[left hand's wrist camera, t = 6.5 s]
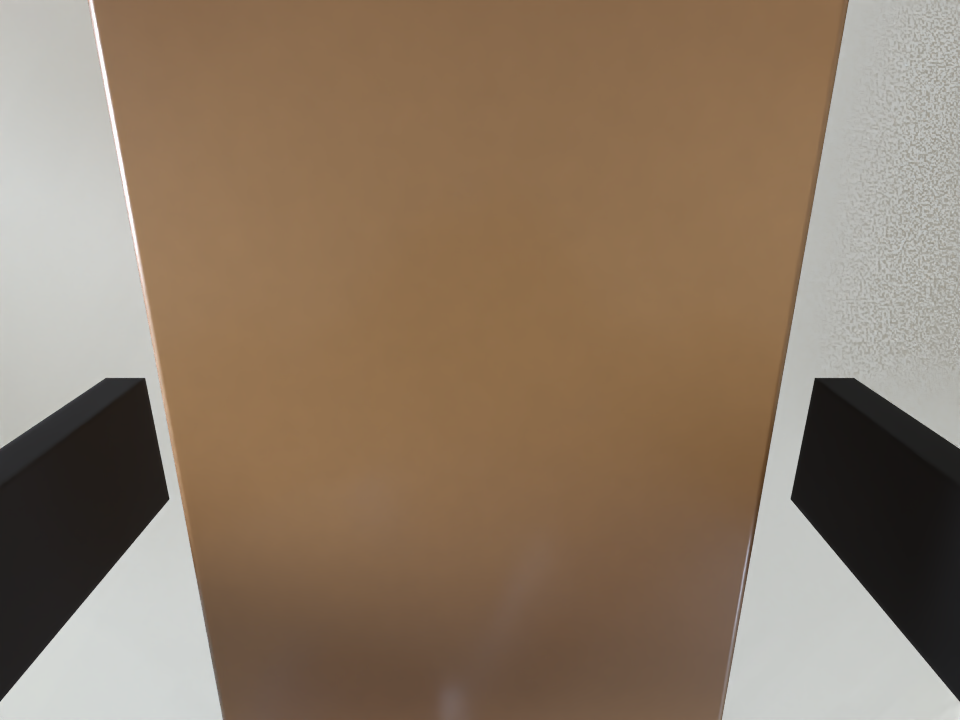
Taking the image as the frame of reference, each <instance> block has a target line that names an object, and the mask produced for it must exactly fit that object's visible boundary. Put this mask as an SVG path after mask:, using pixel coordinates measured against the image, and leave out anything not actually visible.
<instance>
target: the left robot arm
mask: <svg viewBox="0 0 960 720" xmlns="http://www.w3.org/2000/svg"><path fill="white" fill-rule="evenodd" d="M168 500H169V495H168V490H167V485H166V480H165V475H164V470H163V465H162V460H161V455H160V450H159V445H158V440H157V435H156V430H155V425H154V420H153V415H152V410H151V405H150V400H149V395H148V390H147V385H146V380H145V378H105V379H104V380H102V381H101V382H99V383H98V384H96V385H95V386H93V387H92V388H90V389H89V390H87V391H86V392H84V393H83V394H82V395H80V396H79V397H77V398H76V399H74V400H73V401H71V402H70V403H68V404H67V405H65V406H64V407H62V408H61V409H59V410H58V411H56V412H55V413H53V414H52V415H50V416H49V417H47V418H46V419H44V420H43V421H41V422H40V423H38V424H37V425H35V426H34V427H32V428H31V429H29V430H28V431H26V432H25V433H23V434H22V435H20V436H19V437H17V438H16V439H14V440H13V441H11V442H10V443H8V444H7V445H5V446H4V447H2V448H1V449H0V701H1V700H2V699H3V698H4V696H5V695H6V694H7V693H8V692H9V690H10V689H11V688H12V687H13V686H14V684H15V683H16V682H17V681H18V680H19V678H20V677H21V676H22V675H23V674H24V672H25V671H26V670H27V669H28V668H29V666H30V665H31V664H32V663H33V662H34V661H35V659H36V658H37V657H38V656H39V655H40V653H41V652H42V651H43V650H44V649H45V647H46V646H47V645H48V644H49V643H50V641H51V640H52V639H53V638H54V637H55V635H56V634H57V633H58V632H59V631H60V629H61V628H62V627H63V626H64V625H65V623H66V622H67V621H68V620H69V619H70V617H71V616H72V615H73V614H74V613H75V611H76V610H77V609H78V608H79V607H80V605H81V604H82V603H83V602H84V601H85V599H86V598H87V597H88V596H89V595H90V593H91V592H92V591H93V590H94V589H95V588H96V586H97V585H98V584H99V583H100V582H101V580H102V579H103V578H104V577H105V576H106V574H107V573H108V572H109V571H110V570H111V568H112V567H113V566H114V565H115V564H116V562H117V561H118V560H119V559H120V558H121V556H122V555H123V554H124V553H125V552H126V550H127V549H128V548H129V547H130V546H131V544H132V543H133V542H134V541H135V540H136V538H137V537H138V536H139V535H140V534H141V532H142V531H143V530H144V529H145V528H146V526H147V525H148V524H149V523H150V522H151V520H152V519H153V518H154V517H155V516H156V515H157V513H158V512H159V511H160V510H161V509H162V507H163V506H164V505H165V504H166V503H167V501H168ZM791 500H792V501H793V503H794V504H795V505H796V506H797V507H798V509H799V510H800V511H801V512H802V513H803V515H804V516H805V517H806V518H807V519H808V520H809V522H810V523H811V524H812V525H813V526H814V528H815V529H816V530H817V531H818V532H819V534H820V535H821V536H822V537H823V538H824V540H825V541H826V542H827V543H828V544H829V546H830V547H831V548H832V549H833V550H834V552H835V553H836V554H837V555H838V556H839V558H840V559H841V560H842V561H843V562H844V564H845V565H846V566H847V567H848V568H849V570H850V571H851V572H852V573H853V574H854V576H855V577H856V578H857V579H858V580H859V582H860V583H861V584H862V585H863V586H864V588H865V589H866V590H867V591H868V592H869V593H870V595H871V596H872V597H873V598H874V599H875V601H876V602H877V603H878V604H879V605H880V607H881V608H882V609H883V610H884V611H885V613H886V614H887V615H888V616H889V617H890V619H891V620H892V621H893V622H894V623H895V625H896V626H897V627H898V628H899V629H900V631H901V632H902V633H903V634H904V635H905V637H906V638H907V639H908V640H909V641H910V643H911V644H912V645H913V646H914V647H915V649H916V650H917V651H918V652H919V653H920V655H921V656H922V657H923V658H924V659H925V661H926V662H927V663H928V664H929V665H930V666H931V668H932V669H933V670H934V671H935V672H936V674H937V675H938V676H939V677H940V678H941V680H942V681H943V682H944V683H945V684H946V686H947V687H948V688H949V689H950V690H951V692H952V693H953V694H954V695H955V696H956V698H957V699H958V700H959V701H960V449H959V448H958V447H956V446H955V445H953V444H952V443H950V442H949V441H947V440H946V439H944V438H943V437H941V436H940V435H938V434H937V433H935V432H934V431H932V430H931V429H929V428H928V427H926V426H925V425H923V424H922V423H920V422H919V421H917V420H916V419H914V418H913V417H911V416H910V415H908V414H907V413H905V412H904V411H902V410H901V409H899V408H898V407H896V406H895V405H893V404H892V403H890V402H889V401H887V400H886V399H884V398H883V397H881V396H880V395H878V394H877V393H876V392H874V391H873V390H871V389H870V388H868V387H867V386H865V385H864V384H862V383H861V382H859V381H858V380H856V379H855V378H815V380H814V385H813V390H812V395H811V400H810V405H809V410H808V415H807V420H806V425H805V430H804V435H803V440H802V445H801V450H800V455H799V460H798V465H797V470H796V475H795V480H794V485H793V490H792V495H791Z"/></svg>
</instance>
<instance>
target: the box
mask: <svg viewBox="0 0 960 720" xmlns="http://www.w3.org/2000/svg"><path fill="white" fill-rule="evenodd" d="M848 2H849V0H88V4H89V9H90V14H91V20H92V25H93V30H94V36H95V41H96V46H97V52H98V57H99V62H100V68H101V73H102V78H103V84H104V89H105V94H106V100H107V105H108V110H109V116H110V121H111V126H112V131H113V137H114V142H115V147H116V153H117V158H118V163H119V169H120V174H121V179H122V185H123V190H124V195H125V201H126V206H127V211H128V217H129V222H130V227H131V233H132V238H133V243H134V249H135V254H136V259H137V265H138V270H139V275H140V280H141V286H142V291H143V296H144V302H145V307H146V312H147V318H148V323H149V328H150V334H151V339H152V344H153V350H154V355H155V360H156V366H157V371H158V376H159V382H160V387H161V392H162V398H163V403H164V408H165V413H166V419H167V424H168V429H169V435H170V440H171V445H172V451H173V456H174V461H175V467H176V472H177V477H178V483H179V488H180V493H181V499H182V504H183V509H184V515H185V520H186V525H187V531H188V536H189V541H190V547H191V552H192V557H193V562H194V568H195V573H196V578H197V584H198V589H199V594H200V600H201V605H202V610H203V616H204V621H205V626H206V632H207V637H208V642H209V648H210V653H211V658H212V664H213V669H214V674H215V680H216V685H217V690H218V695H219V701H220V706H221V711H222V717H223V720H722V715H723V710H724V704H725V698H726V693H727V687H728V681H729V676H730V670H731V664H732V659H733V653H734V647H735V642H736V636H737V630H738V625H739V619H740V613H741V608H742V602H743V596H744V591H745V585H746V579H747V574H748V568H749V562H750V557H751V551H752V545H753V540H754V534H755V528H756V523H757V517H758V511H759V506H760V500H761V494H762V489H763V483H764V477H765V472H766V466H767V460H768V455H769V449H770V443H771V438H772V432H773V426H774V421H775V415H776V409H777V404H778V398H779V392H780V387H781V381H782V375H783V370H784V364H785V358H786V353H787V347H788V341H789V336H790V330H791V324H792V319H793V313H794V307H795V302H796V296H797V290H798V285H799V279H800V273H801V268H802V262H803V256H804V251H805V245H806V239H807V234H808V228H809V222H810V217H811V211H812V205H813V200H814V194H815V188H816V183H817V177H818V171H819V166H820V160H821V154H822V149H823V143H824V137H825V132H826V126H827V120H828V115H829V109H830V103H831V98H832V92H833V86H834V81H835V75H836V69H837V64H838V58H839V53H840V47H841V41H842V36H843V30H844V24H845V19H846V13H847V7H848Z"/></svg>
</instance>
